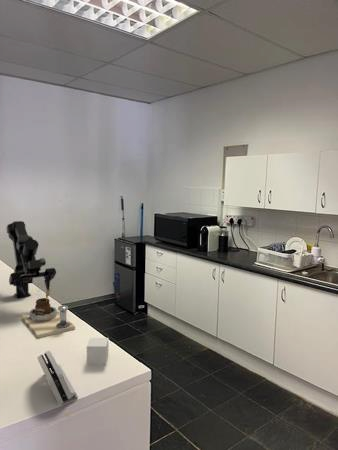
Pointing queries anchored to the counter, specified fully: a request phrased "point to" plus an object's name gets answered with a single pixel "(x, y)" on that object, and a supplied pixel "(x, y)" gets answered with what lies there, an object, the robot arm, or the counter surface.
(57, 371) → the grey electronic device
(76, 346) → the counter surface
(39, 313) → the utensil holder
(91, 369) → the counter surface
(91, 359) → the grey cube
